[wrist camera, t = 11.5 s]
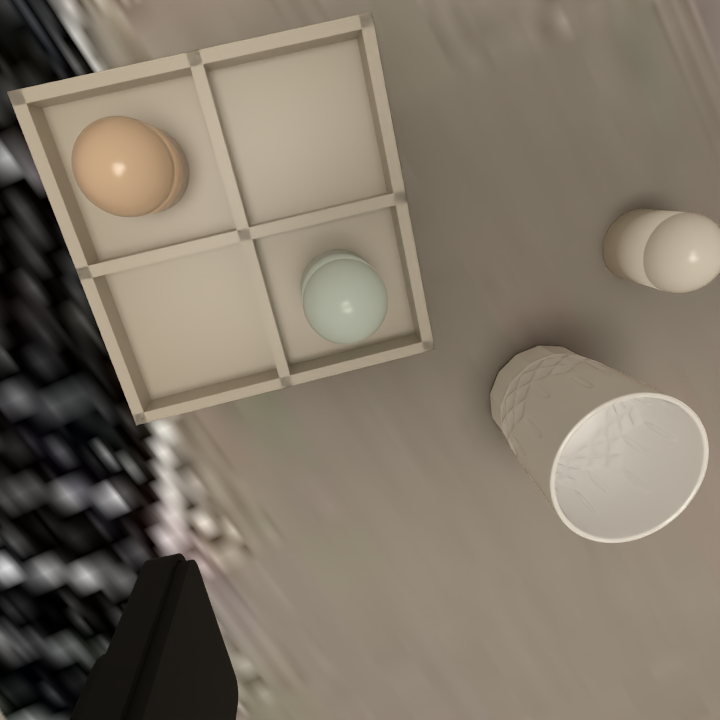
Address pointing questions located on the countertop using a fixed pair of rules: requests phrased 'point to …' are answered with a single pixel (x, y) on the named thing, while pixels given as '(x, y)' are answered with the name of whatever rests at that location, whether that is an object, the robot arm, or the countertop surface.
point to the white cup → (599, 443)
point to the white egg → (663, 249)
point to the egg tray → (237, 213)
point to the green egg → (343, 297)
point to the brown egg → (129, 167)
